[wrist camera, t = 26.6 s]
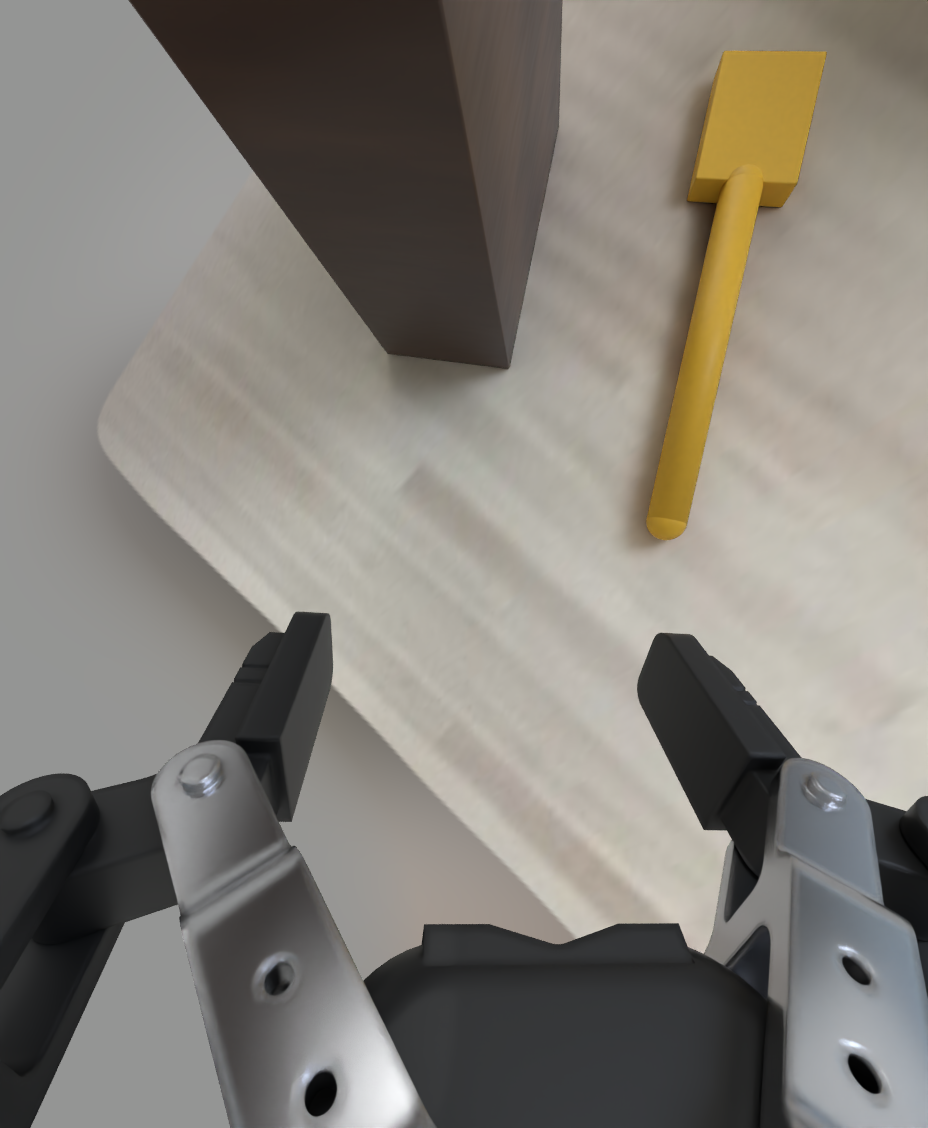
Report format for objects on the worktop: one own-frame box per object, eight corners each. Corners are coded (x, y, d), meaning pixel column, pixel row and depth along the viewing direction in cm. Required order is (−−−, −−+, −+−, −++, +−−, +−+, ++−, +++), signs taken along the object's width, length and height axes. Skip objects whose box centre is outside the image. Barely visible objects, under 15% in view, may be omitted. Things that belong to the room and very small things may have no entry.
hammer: (713, 81, 23) (727, 39, 21) (810, 83, 22) (833, 40, 20) (613, 532, 23) (618, 529, 21) (704, 549, 22) (718, 548, 20)
